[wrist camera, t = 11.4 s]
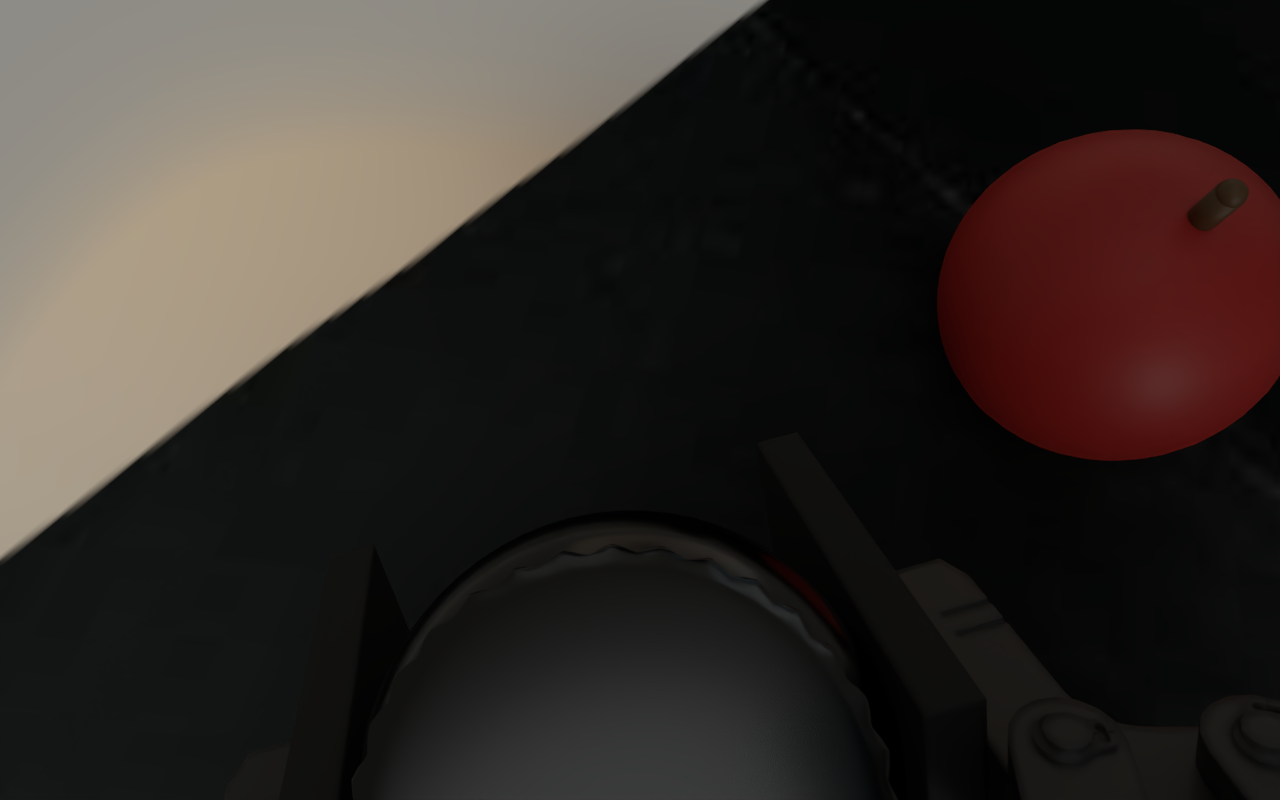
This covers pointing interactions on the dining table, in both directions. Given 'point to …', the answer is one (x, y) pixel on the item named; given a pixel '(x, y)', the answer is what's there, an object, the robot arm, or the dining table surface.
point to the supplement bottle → (631, 677)
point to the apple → (1116, 295)
